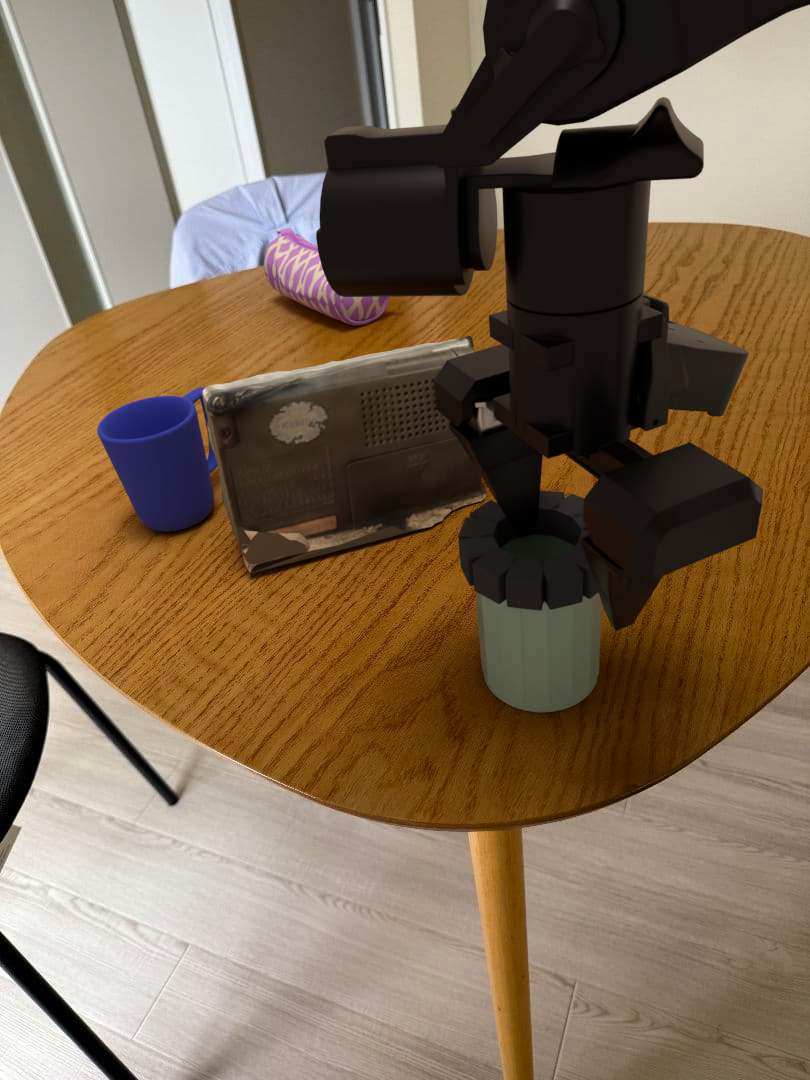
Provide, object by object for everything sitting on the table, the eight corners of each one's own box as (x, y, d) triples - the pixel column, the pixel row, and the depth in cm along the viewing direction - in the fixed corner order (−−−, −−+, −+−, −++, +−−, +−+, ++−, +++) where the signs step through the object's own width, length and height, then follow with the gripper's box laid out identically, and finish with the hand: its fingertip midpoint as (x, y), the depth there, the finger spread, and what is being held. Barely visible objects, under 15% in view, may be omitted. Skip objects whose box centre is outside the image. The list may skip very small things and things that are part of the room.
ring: (578, 504, 50) (579, 478, 48) (643, 588, 42) (645, 559, 41) (445, 535, 49) (442, 508, 47) (488, 625, 41) (486, 597, 40)
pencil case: (403, 315, 106) (394, 244, 101) (348, 337, 102) (335, 264, 96) (314, 286, 121) (302, 222, 116) (263, 304, 117) (248, 239, 111)
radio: (483, 465, 72) (473, 307, 63) (517, 513, 65) (511, 344, 56) (233, 524, 69) (186, 367, 60) (241, 582, 62) (189, 413, 53)
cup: (572, 620, 54) (573, 513, 49) (617, 696, 48) (625, 584, 43) (469, 644, 53) (459, 538, 48) (502, 725, 47) (496, 614, 42)
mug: (264, 476, 75) (240, 380, 69) (187, 548, 67) (152, 446, 61) (197, 465, 78) (168, 373, 73) (115, 533, 70) (75, 434, 64)
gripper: (910, 304, 28) (823, 624, 37) (601, 212, 42) (593, 459, 52) (657, 388, 25) (630, 713, 34) (417, 258, 40) (443, 512, 49)
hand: (570, 576), depth 42 cm, fingers open, 9 cm apart
